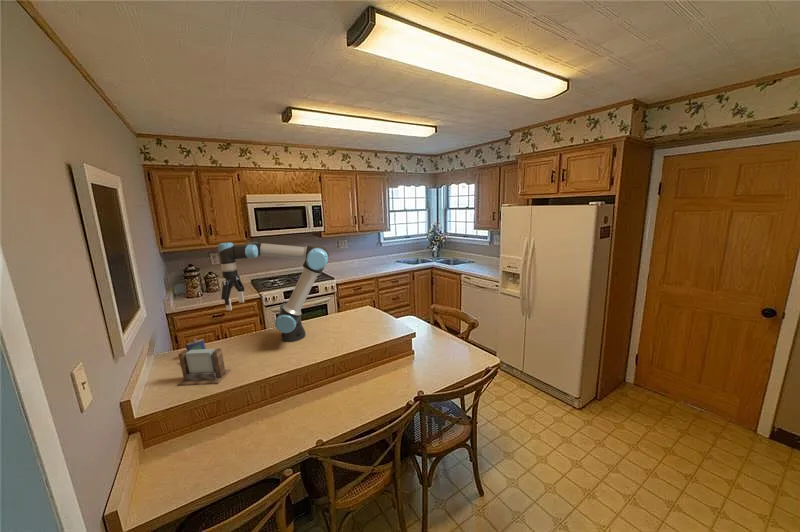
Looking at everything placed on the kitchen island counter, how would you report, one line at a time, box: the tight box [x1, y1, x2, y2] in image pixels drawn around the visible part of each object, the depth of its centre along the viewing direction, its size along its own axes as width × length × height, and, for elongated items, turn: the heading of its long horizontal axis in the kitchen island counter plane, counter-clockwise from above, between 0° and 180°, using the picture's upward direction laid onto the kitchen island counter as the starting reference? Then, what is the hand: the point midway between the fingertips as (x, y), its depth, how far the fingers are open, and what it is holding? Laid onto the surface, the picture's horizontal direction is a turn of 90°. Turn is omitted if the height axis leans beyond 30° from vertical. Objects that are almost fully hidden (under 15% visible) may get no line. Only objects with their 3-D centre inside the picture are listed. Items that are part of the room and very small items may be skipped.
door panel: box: [186, 348, 217, 376], centre depth 155 cm, size 12×4×14 cm, turn 90°
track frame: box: [177, 348, 232, 387], centre depth 155 cm, size 20×12×15 cm, turn 90°
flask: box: [185, 338, 207, 351], centre depth 179 cm, size 9×3×11 cm, turn 138°
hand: (235, 306), depth 177 cm, fingers open, 13 cm apart
